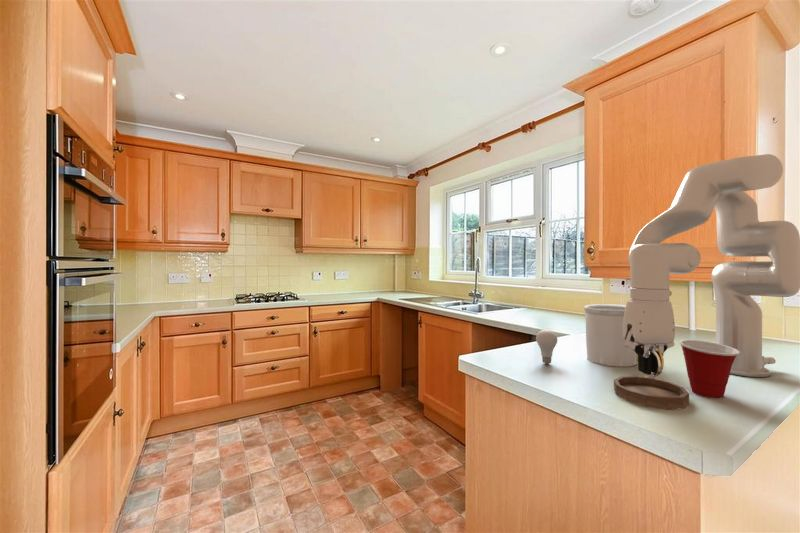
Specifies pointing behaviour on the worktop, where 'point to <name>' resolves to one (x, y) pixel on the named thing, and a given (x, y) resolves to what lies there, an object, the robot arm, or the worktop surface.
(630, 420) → the worktop surface
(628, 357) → the utensil holder
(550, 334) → the lightbulb
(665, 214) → the robot arm
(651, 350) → the gold round band
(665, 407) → the ring dish
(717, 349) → the plastic cup
